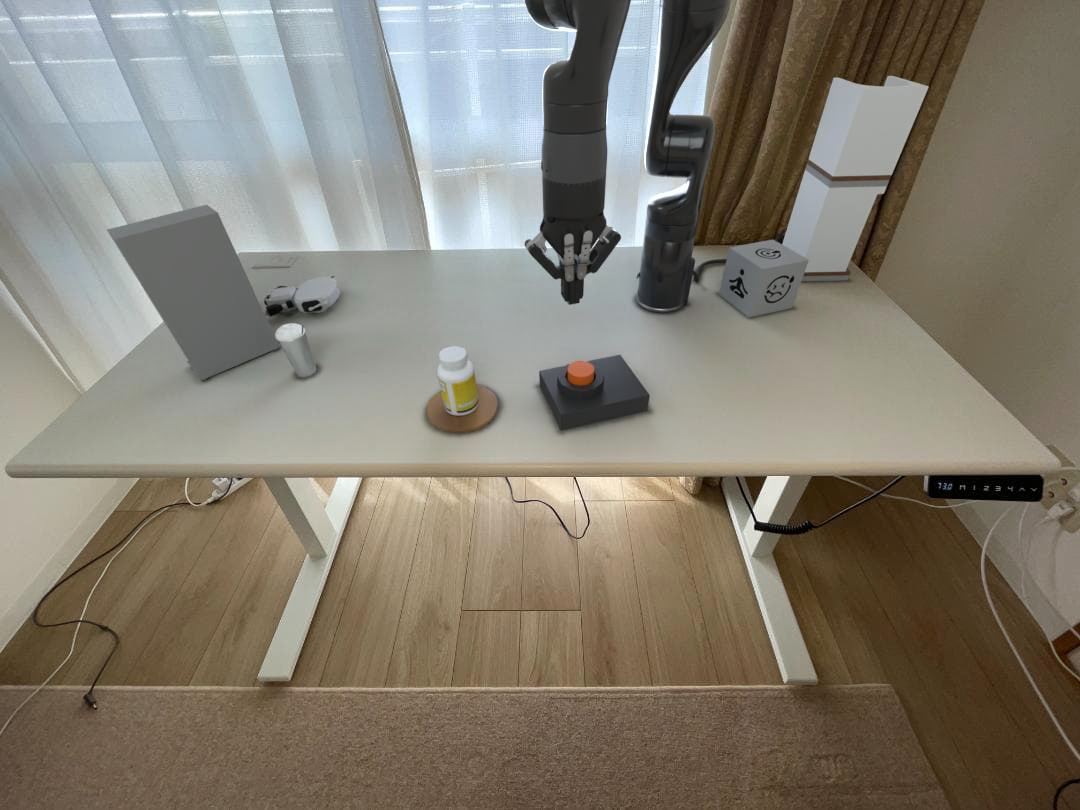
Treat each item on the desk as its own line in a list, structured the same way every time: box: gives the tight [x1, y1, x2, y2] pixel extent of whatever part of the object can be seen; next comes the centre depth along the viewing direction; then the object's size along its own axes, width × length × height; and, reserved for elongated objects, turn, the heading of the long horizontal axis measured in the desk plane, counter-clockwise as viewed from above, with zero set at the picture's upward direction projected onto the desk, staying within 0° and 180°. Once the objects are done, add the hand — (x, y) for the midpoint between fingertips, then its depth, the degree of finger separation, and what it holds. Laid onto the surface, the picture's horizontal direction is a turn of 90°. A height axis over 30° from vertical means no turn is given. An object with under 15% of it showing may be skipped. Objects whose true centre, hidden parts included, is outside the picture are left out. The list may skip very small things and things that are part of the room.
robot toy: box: [262, 273, 341, 318], centre depth 101 cm, size 12×4×15 cm
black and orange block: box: [538, 354, 651, 431], centre depth 76 cm, size 14×11×5 cm
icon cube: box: [718, 239, 809, 318], centre depth 96 cm, size 10×10×10 cm
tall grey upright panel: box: [106, 204, 281, 381], centre depth 81 cm, size 14×6×25 cm, turn 135°
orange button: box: [568, 360, 594, 386], centre depth 74 cm, size 4×4×2 cm
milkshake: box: [274, 322, 317, 378], centre depth 82 cm, size 4×5×10 cm
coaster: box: [426, 384, 499, 434], centre depth 76 cm, size 11×11×1 cm
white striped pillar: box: [781, 75, 929, 282], centre depth 97 cm, size 11×11×35 cm
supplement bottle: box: [436, 345, 479, 416], centre depth 73 cm, size 5×5×10 cm
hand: (572, 301), depth 69 cm, fingers closed
